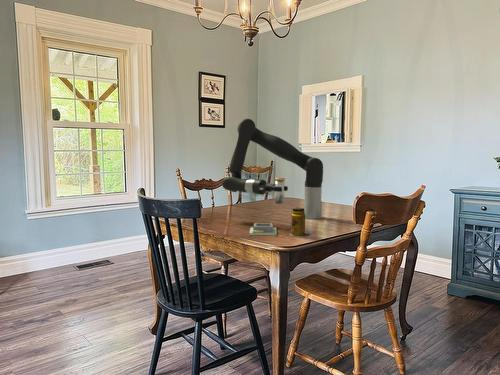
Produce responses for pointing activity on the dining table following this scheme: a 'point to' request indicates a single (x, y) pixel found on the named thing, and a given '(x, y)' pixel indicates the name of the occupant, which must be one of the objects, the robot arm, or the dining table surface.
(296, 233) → the condiment
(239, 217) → the dining table surface
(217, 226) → the dining table surface
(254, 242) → the dining table surface
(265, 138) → the robot arm
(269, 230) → the dock
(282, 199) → the glass storage jar
